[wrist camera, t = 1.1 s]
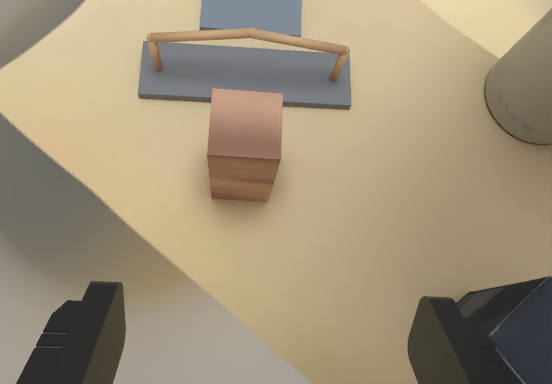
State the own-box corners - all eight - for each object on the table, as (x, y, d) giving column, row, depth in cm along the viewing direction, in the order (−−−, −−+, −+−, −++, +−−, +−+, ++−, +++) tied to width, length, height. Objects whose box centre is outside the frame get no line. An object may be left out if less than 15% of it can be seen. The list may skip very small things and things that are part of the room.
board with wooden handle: (145, 48, 42) (129, -8, 35) (346, 61, 44) (368, 10, 37) (140, 100, 41) (123, 51, 34) (347, 111, 43) (371, 67, 36)
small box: (565, 396, 37) (689, 419, 27) (509, 456, 36) (620, 504, 26) (471, 286, 39) (556, 270, 29) (414, 339, 37) (483, 341, 27)
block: (215, 146, 40) (212, 88, 31) (269, 150, 41) (282, 93, 31) (211, 198, 39) (207, 154, 29) (267, 201, 39) (280, 159, 30)
